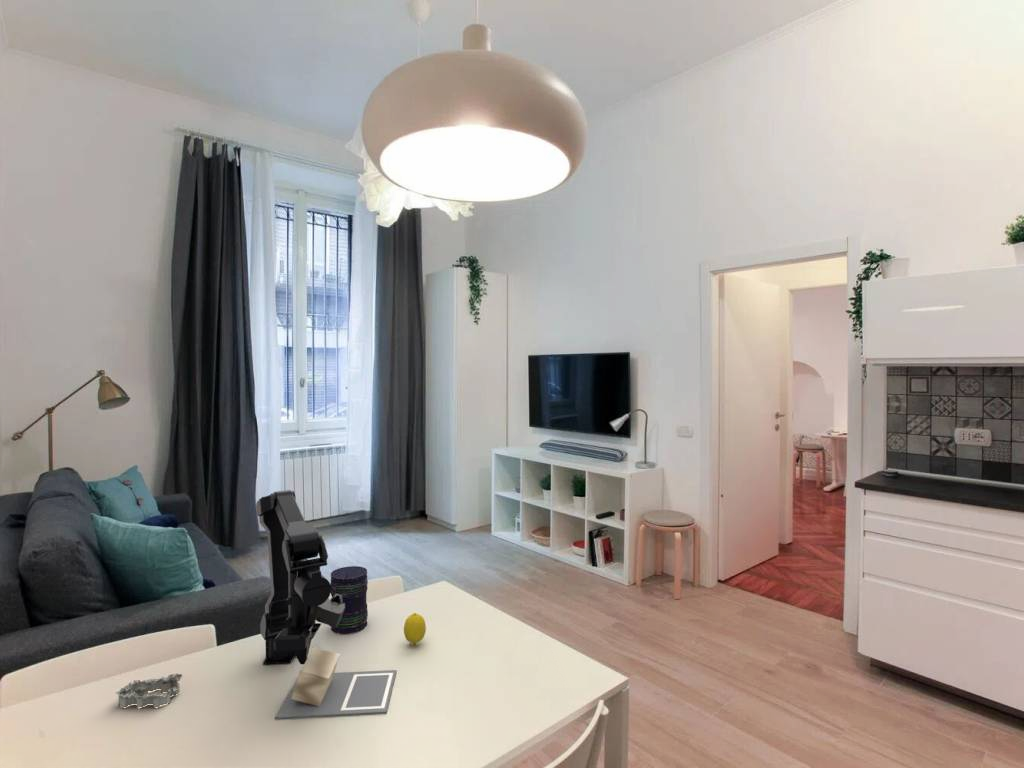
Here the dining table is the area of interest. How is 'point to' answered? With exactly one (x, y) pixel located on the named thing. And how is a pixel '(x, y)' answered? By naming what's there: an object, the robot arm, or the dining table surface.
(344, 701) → the mat
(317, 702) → the block
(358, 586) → the storage jar
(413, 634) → the lemon
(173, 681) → the egg carton
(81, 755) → the dining table surface
